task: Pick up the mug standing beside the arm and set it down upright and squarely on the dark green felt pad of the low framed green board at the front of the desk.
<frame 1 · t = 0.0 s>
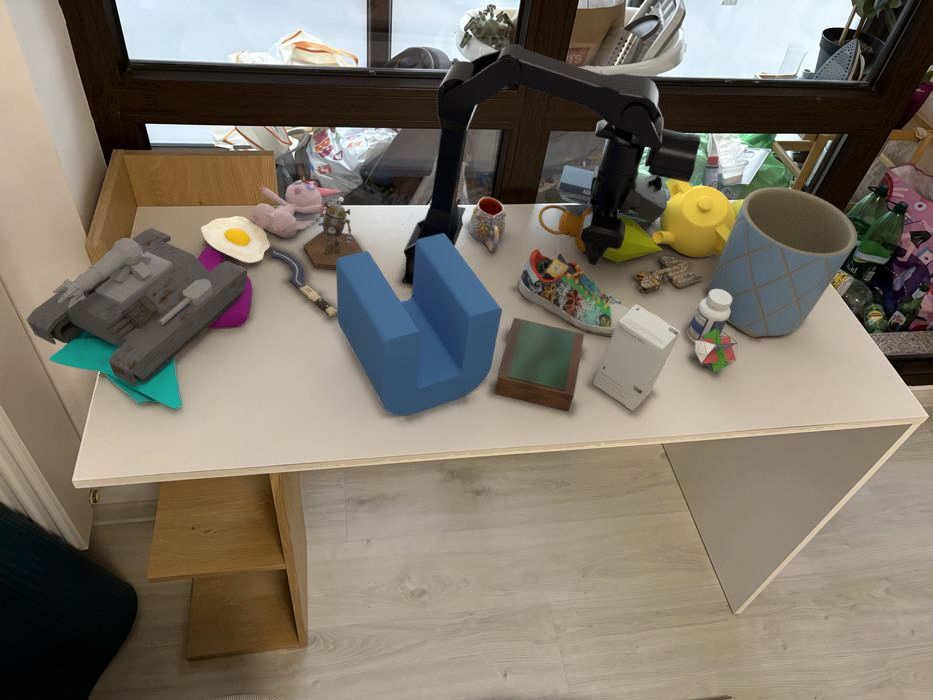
hand: (595, 247, 121), 15 cm above the table, tool pointing down, fingers open, 9 cm apart
block: (411, 367, 119), on the table
cloth: (128, 353, 111), point 2 cm above the table, touching toy 2
geometric puzzle: (730, 336, 125), point 4 cm above the table
gum box: (610, 200, 154), point 2 cm above the table, touching plumb bob
robot figurine: (332, 253, 136), on the table
plumb bob: (595, 251, 144), on the table, touching gum box
framed green board: (538, 371, 121), on the table
teapot: (686, 233, 149), point 2 cm above the table, touching light switch
mug: (487, 242, 143), on the table
sneaker: (572, 311, 132), on the table
toy: (262, 229, 134), point 3 cm above the table
light switch: (690, 219, 150), point 3 cm above the table, touching teapot
pill bottle: (701, 337, 131), on the table
toy 2: (149, 316, 117), point 2 cm above the table, touching cloth, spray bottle
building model: (666, 280, 141), on the table
fried egg: (239, 238, 132), point 2 cm above the table, touching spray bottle
decorative blade: (315, 273, 131), on the table
apple: (734, 236, 153), on the table
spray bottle: (220, 280, 128), on the table, touching fried egg, toy 2
cosmetic box: (622, 390, 120), on the table
planter: (753, 307, 138), on the table
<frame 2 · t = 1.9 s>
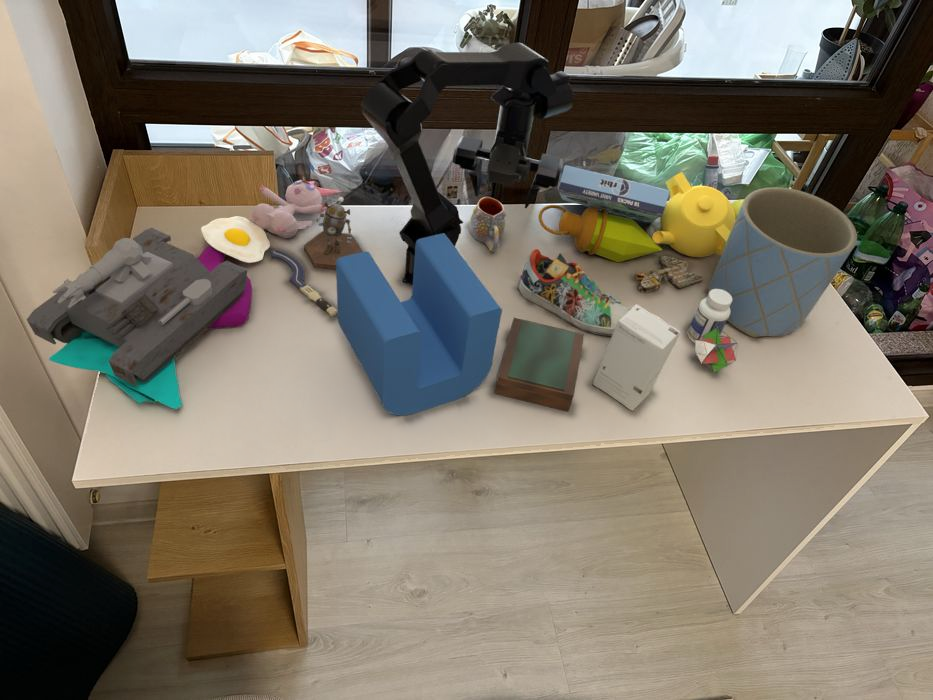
hand: (501, 201, 134), 11 cm above the table, tool pointing down, fingers open, 9 cm apart
nothing on the table moved.
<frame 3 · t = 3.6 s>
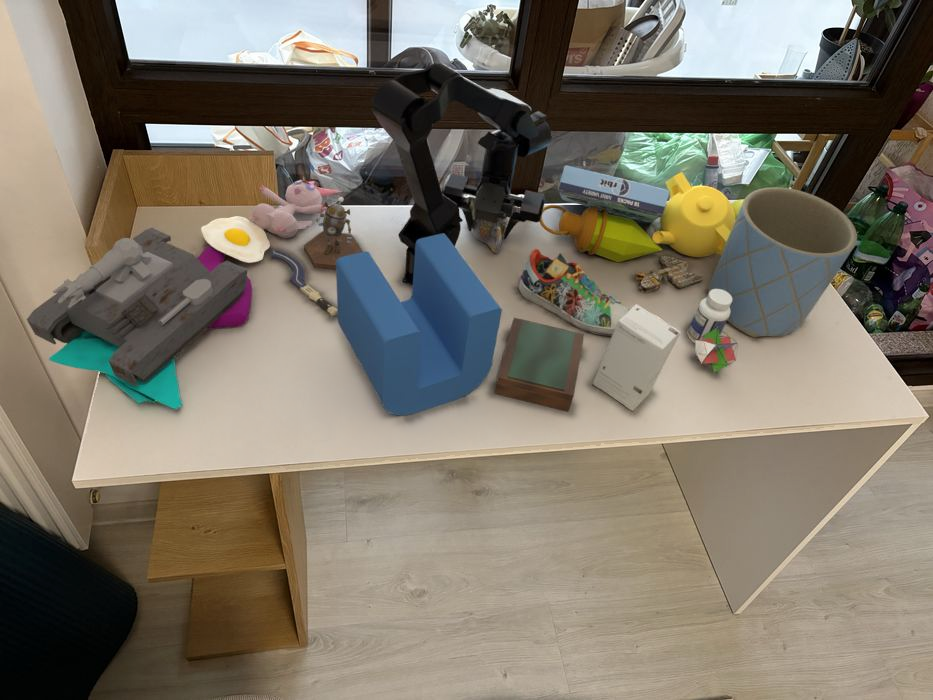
hand: (487, 234, 142), 2 cm above the table, tool pointing down, fingers closed on mug, 6 cm apart
mug: (489, 242, 143), on the table, touching gripper
everything else where it was.
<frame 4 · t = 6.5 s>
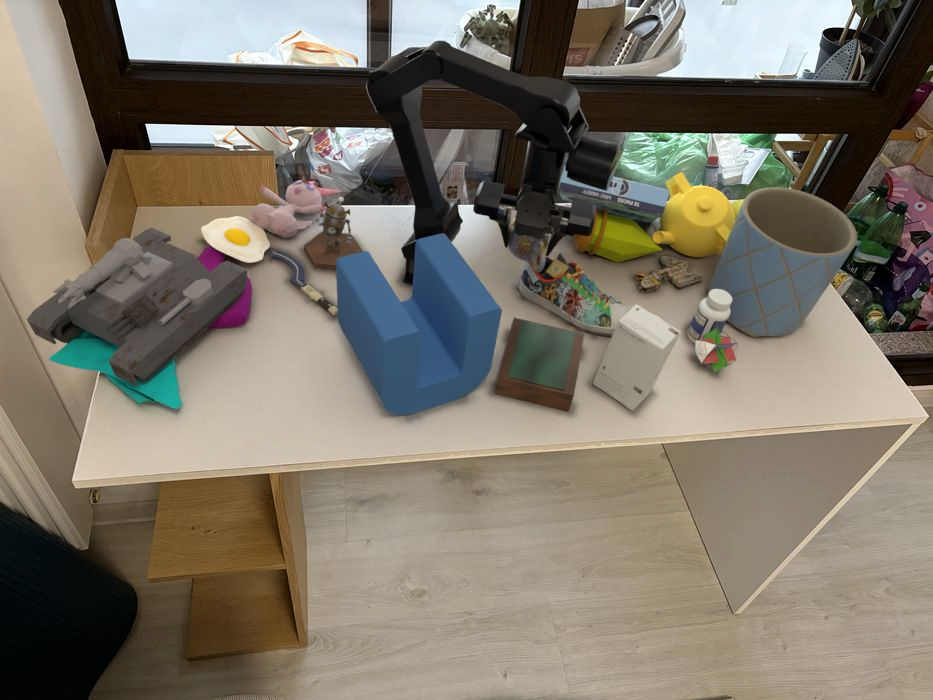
hand: (526, 250, 121), 13 cm above the table, tool pointing down, fingers closed on mug, 6 cm apart
mug: (528, 259, 123), point 11 cm above the table, touching gripper
everything else where it was.
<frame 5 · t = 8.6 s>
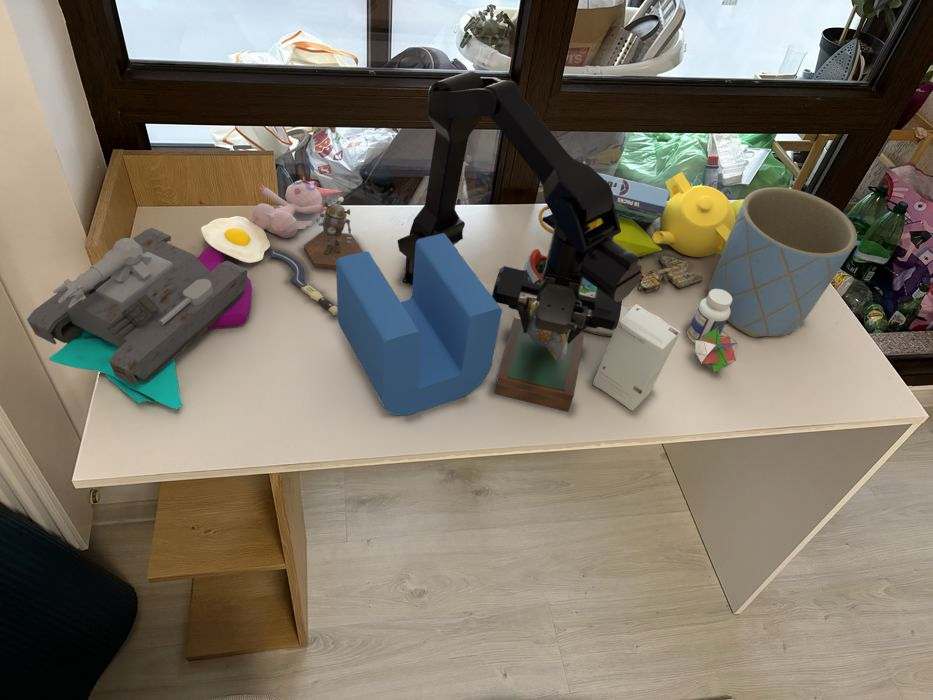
hand: (546, 336, 115), 8 cm above the table, tool pointing down, fingers closed on mug, 6 cm apart
mug: (548, 345, 117), point 6 cm above the table, touching gripper
everything else where it was.
when the fingers open (6 cm above the table, at t = 9.8 s): mug stays where it is, resting on framed green board.
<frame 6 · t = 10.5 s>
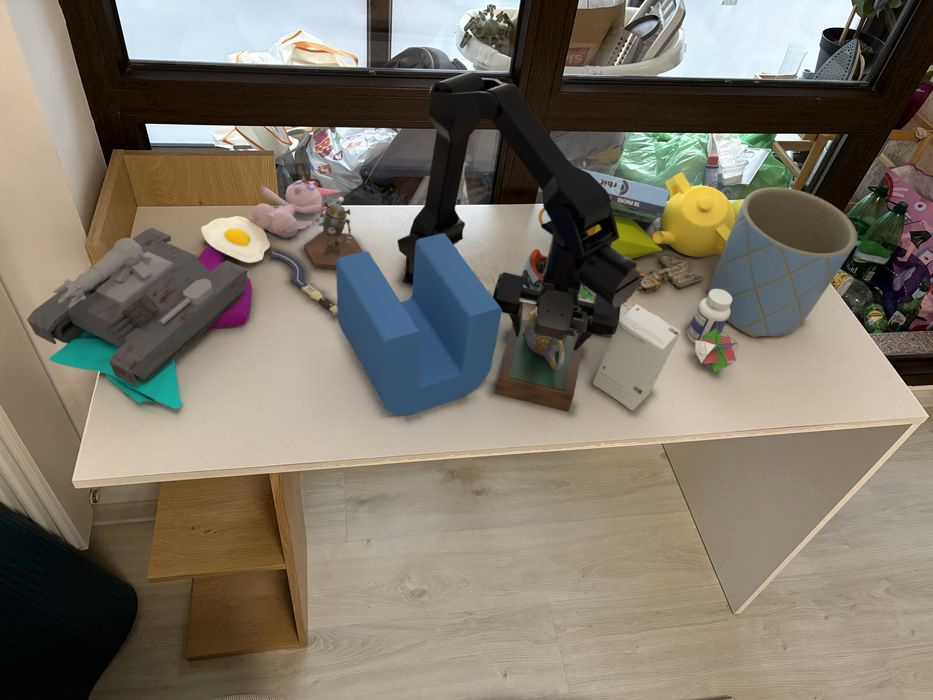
hand: (546, 341, 116), 7 cm above the table, tool pointing down, fingers open, 9 cm apart
mug: (546, 354, 118), point 4 cm above the table, touching framed green board
everything else where it was.
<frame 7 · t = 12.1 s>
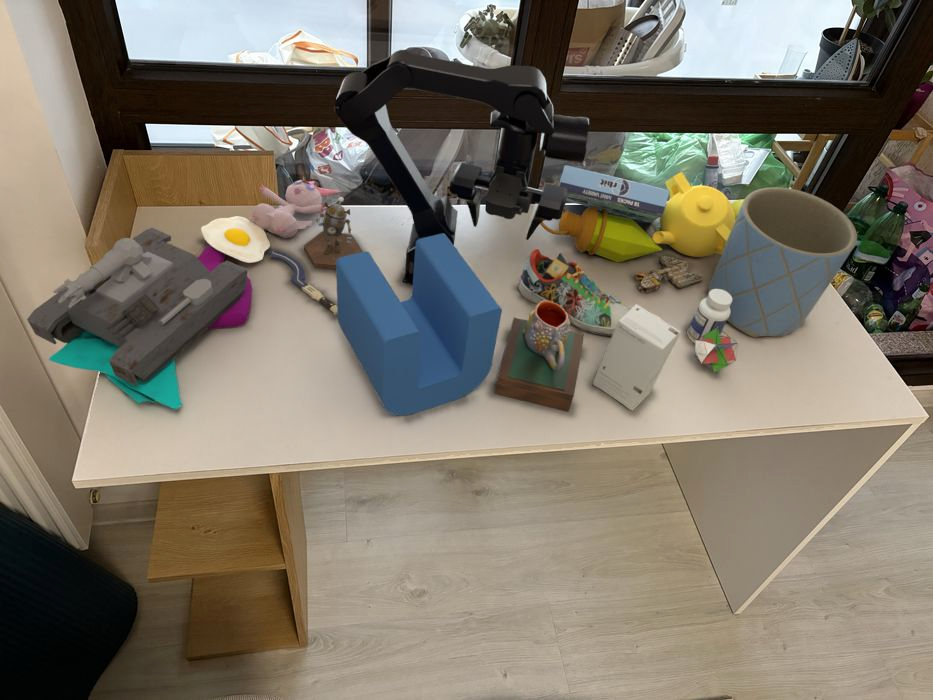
hand: (501, 231, 126), 12 cm above the table, tool pointing down, fingers open, 9 cm apart
nothing on the table moved.
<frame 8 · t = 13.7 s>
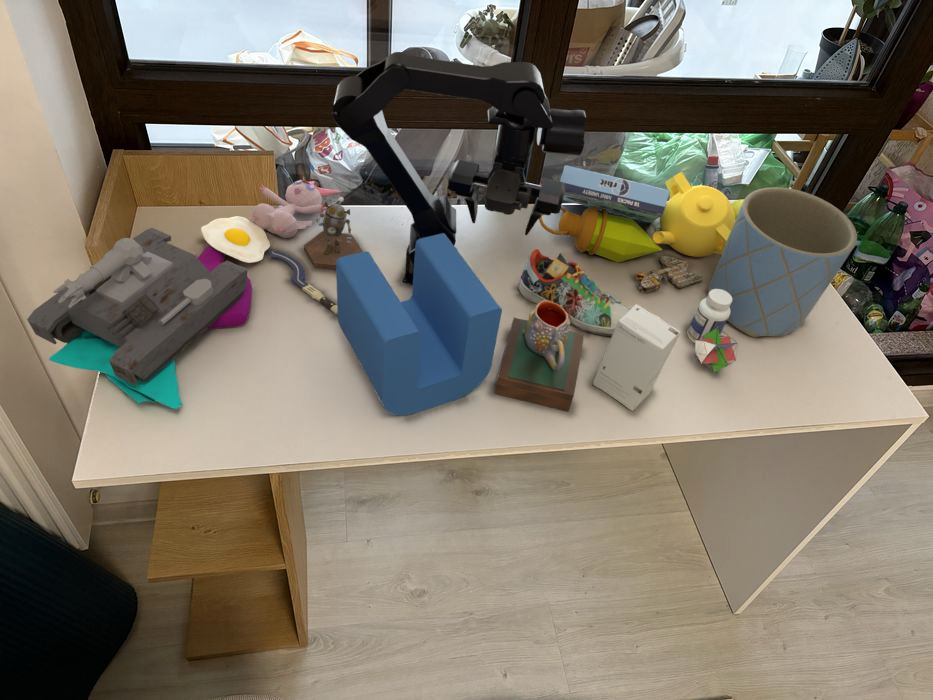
hand: (500, 227, 127), 12 cm above the table, tool pointing down, fingers open, 9 cm apart
nothing on the table moved.
at the end: mug inside the target area on the framed green board (0.5 cm from its centre), point 4.0 cm above the framed green board's base; mug tilted 0°; the gripper is holding nothing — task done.
